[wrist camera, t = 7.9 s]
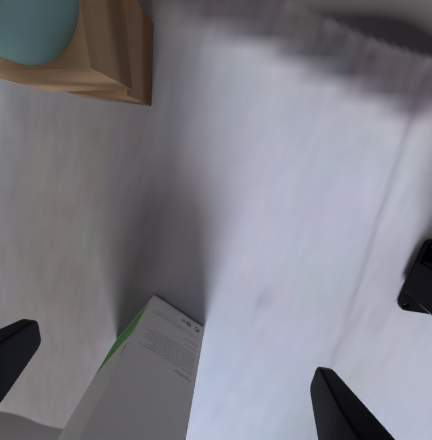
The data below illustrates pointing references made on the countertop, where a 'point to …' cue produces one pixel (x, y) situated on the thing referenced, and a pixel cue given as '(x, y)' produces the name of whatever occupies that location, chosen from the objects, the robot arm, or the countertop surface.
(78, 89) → the tan wooden block
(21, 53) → the teal block
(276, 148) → the countertop surface
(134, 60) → the tower base
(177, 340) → the skincare box
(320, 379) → the robot arm
